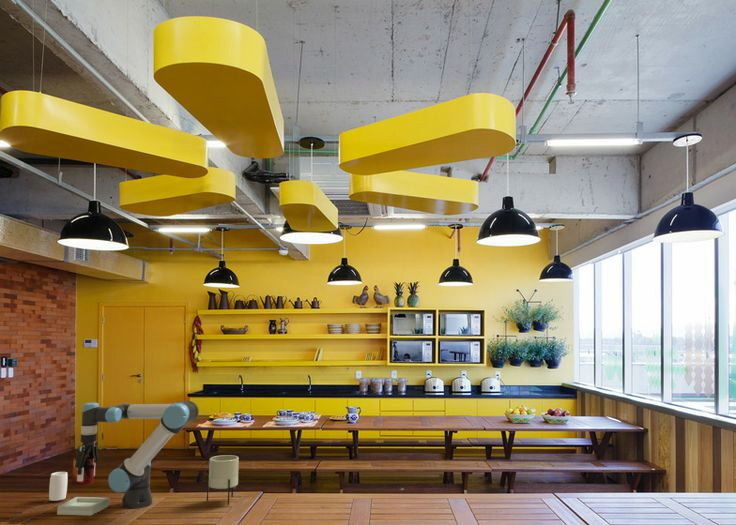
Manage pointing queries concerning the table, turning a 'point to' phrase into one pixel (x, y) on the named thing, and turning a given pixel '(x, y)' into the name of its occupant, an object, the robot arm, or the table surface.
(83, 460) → the robot arm
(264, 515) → the table surface
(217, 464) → the planter
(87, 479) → the mug
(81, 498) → the tray
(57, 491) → the cup
